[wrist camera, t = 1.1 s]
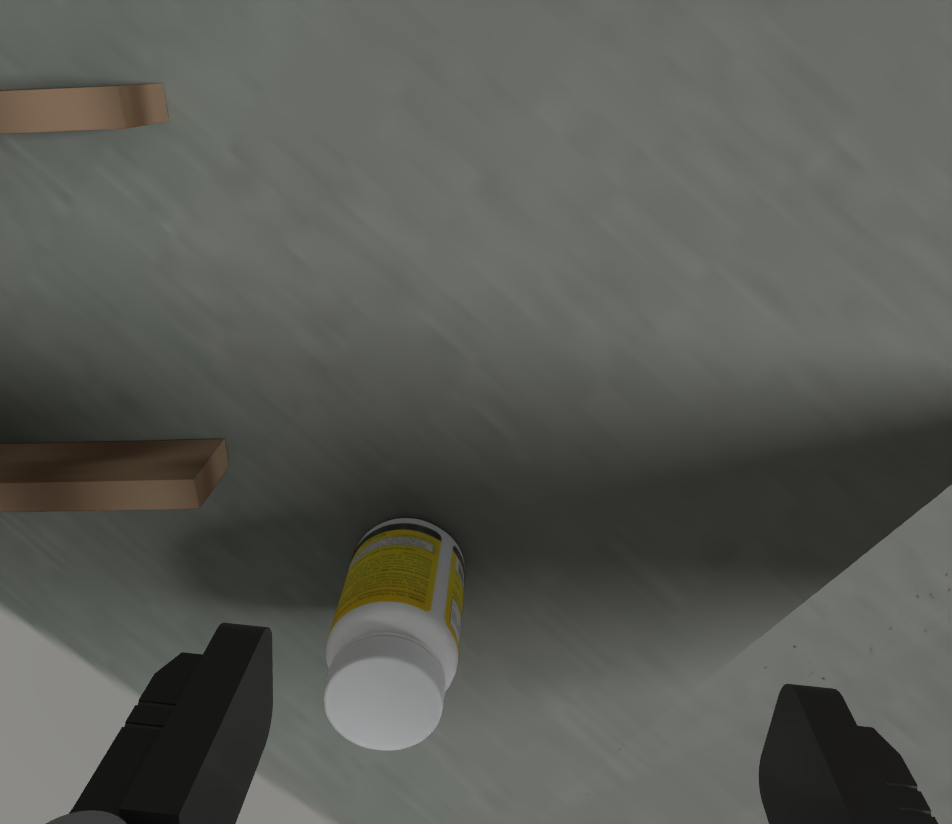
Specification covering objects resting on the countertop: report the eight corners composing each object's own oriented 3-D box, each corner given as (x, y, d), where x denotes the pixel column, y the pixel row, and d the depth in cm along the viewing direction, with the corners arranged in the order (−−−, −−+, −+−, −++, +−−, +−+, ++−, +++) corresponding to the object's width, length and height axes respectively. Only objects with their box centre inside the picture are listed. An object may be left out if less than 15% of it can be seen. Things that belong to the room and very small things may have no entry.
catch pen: (162, 83, 28) (94, 87, 23) (229, 465, 34) (184, 530, 29) (-168, 97, 29) (-298, 104, 24) (-48, 471, 34) (-135, 535, 30)
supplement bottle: (330, 558, 35) (280, 698, 27) (410, 493, 34) (381, 621, 26) (409, 628, 36) (382, 782, 29) (489, 569, 35) (483, 712, 27)
